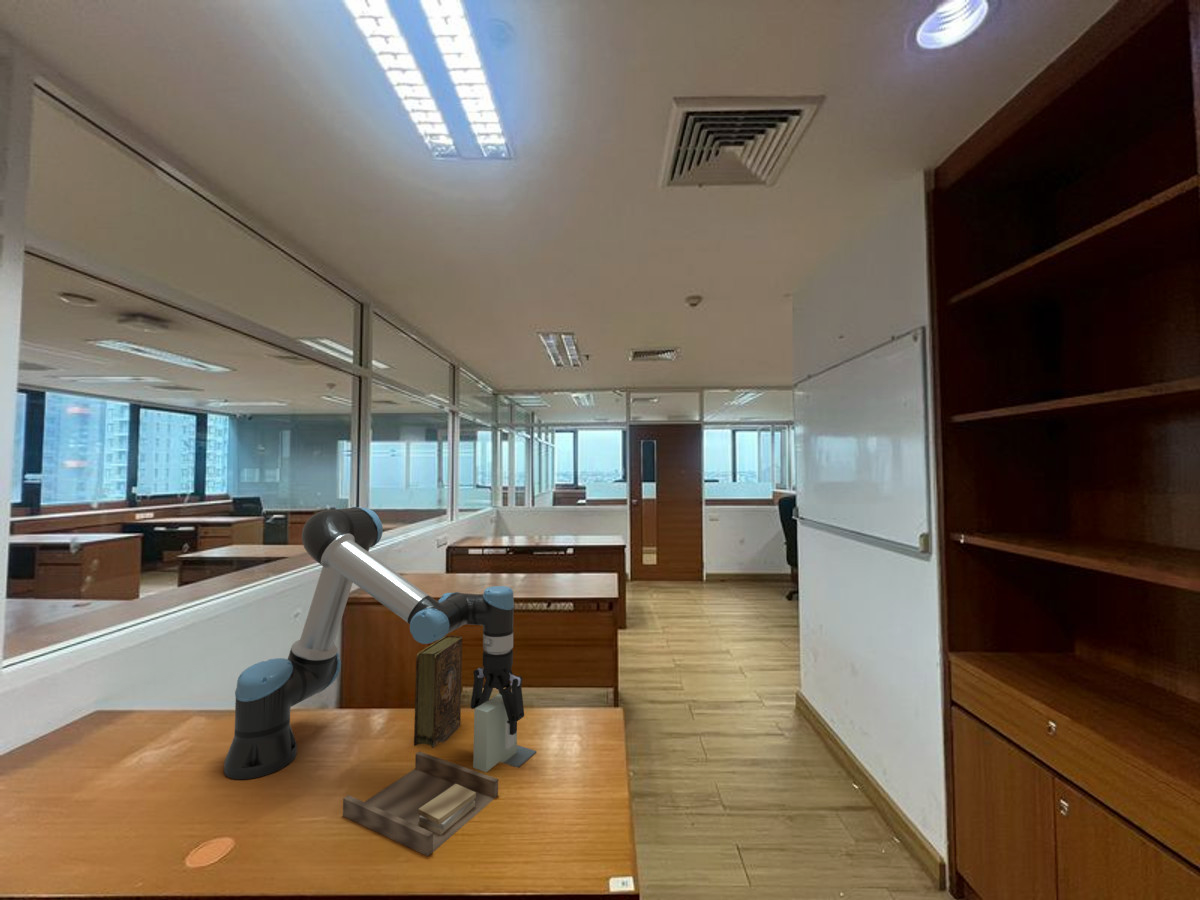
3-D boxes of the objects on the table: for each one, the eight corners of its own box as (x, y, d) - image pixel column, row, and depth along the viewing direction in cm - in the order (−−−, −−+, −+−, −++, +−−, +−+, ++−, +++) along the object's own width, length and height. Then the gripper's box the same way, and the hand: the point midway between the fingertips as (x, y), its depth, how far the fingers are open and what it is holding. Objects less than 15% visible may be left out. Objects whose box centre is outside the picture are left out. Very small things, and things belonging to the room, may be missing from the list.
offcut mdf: (419, 821, 102) (419, 816, 102) (451, 793, 112) (451, 788, 112) (443, 829, 100) (443, 824, 100) (474, 799, 109) (474, 795, 109)
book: (445, 721, 149) (447, 634, 150) (462, 723, 148) (464, 636, 149) (413, 751, 133) (416, 653, 134) (432, 754, 132) (435, 655, 133)
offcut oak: (418, 813, 103) (418, 808, 103) (455, 788, 112) (455, 783, 112) (438, 824, 100) (438, 819, 100) (475, 797, 109) (475, 792, 109)
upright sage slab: (473, 772, 123) (474, 708, 124) (504, 748, 134) (505, 690, 134) (486, 776, 121) (487, 712, 122) (516, 752, 132) (517, 693, 133)
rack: (342, 823, 105) (343, 798, 106) (418, 772, 123) (419, 751, 124) (427, 864, 94) (428, 836, 95) (497, 802, 112) (498, 779, 113)
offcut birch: (418, 825, 103) (418, 820, 103) (453, 797, 112) (453, 793, 112) (440, 835, 100) (440, 829, 100) (475, 806, 109) (475, 801, 109)
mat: (452, 775, 122) (452, 774, 122) (499, 741, 138) (499, 739, 138) (491, 790, 117) (491, 788, 117) (536, 752, 133) (536, 751, 133)
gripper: (456, 647, 130) (454, 739, 129) (522, 661, 121) (520, 760, 120) (476, 639, 137) (474, 726, 136) (540, 652, 128) (538, 745, 126)
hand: (496, 742), depth 128 cm, fingers open, 8 cm apart
